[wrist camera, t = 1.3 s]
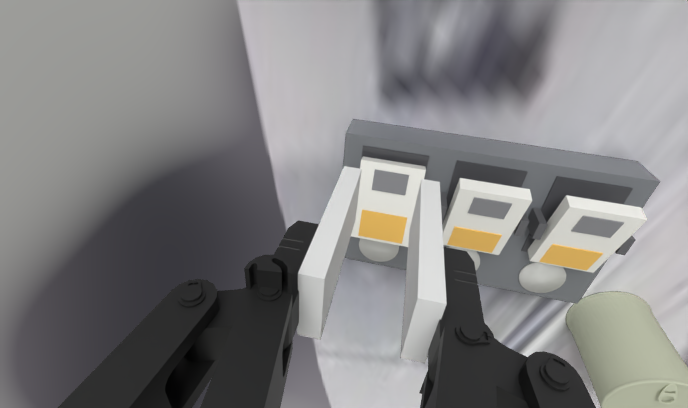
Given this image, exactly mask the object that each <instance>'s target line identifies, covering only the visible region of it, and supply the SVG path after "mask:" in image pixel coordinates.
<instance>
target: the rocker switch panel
mask: <svg viewBox="0 0 688 408" xmlns="http://www.w3.org/2000/svg"><path fill="white" fill-rule="evenodd" d="M363 156H364V157H370V158H376V159H382V160H389V161H395V162H401V163H407V164H413V165H420V166H425V167H426V172H425V177H424V179H425V180H431V181H437V182H440V195H441V213H442V224H443V222H444V219H445V216H446V214H447V211H448V208H449V206H450V203H451V200H452V198H453V195H454V192H455V190H456V187H457V184H458V181H459V179H460V178H464V179H470V180H476V181H482V182H488V183H494V184H500V185H507V186H513V187H519V188H525V189H530V192H531V197H532V202H531V204H530V205H529V207H528V209H527V210H526V212H525V213H524V215H523V217H522V218H521V220H520V222H519V223H518V225H517V226H516V228H515V230H514V231H513V233H512V234H511V236H510V238H509V239H508V241H507V243H506V244H505V246H504V247H503V249H502V251H501V252H500V254H499V255H495V254H489V253H484V252H479V251H473V250H468V249H463V248H457V247H452V246H447V245H443V247H447V248H453V249H458V250H463V251H467V252H468V254H469V255H470V257H471V258H472V260H473V261H474V263H475V270H476V276H477V282H478V284H480V285H485V286H490V287H495V288H500V289H505V290H510V291H516V292H521V293H526V294H531V295H536V296H541V297H546V298H551V299H556V300H561V301H566V302H571V303H576V304H578V302H579V301H580V299H581V298H582V296H583V295H584V293H585V292H586V290H587V289H588V287H589V286H590V284H591V283H592V282H593V280H594V279H595V277H596V276H597V274H598V273H599V271H600V270H601V268H602V267H603V265H604V264H605V262H606V261H607V260H606V261H605V262H604V263H603V264H602V265H601V266H600V267H599V268H598V269H597V270H596V271H595V272H594V273H592V272H586V271H581V270H575V269H570V268H565V267H559V266H554V265H549V264H543V263H538V262H532V261H530V260H529V255H528V249H529V247H530V246H531V244H532V243H533V242H534V240H535V239H537V240H540V239H541V237H542V235H543V233H544V231H545V229H546V227H547V225H548V224H547V222H548V220H549V219H550V217H551V216H552V215H553V213H554V212H555V210H556V209H557V208H558V206H559V205H560V203H561V202H562V200H563V199H564V198H565V196H566V195H568V196H574V197H580V198H586V199H592V200H599V201H605V202H611V203H617V204H623V205H629V206H635V207H641V208H643V206H644V205H645V203H646V202H647V200H648V199H649V197H650V196H651V195H652V193H653V192H654V190H655V189H656V187H657V186H658V184H659V183H660V181H659V180H658V179H657V178H656V177H655V176H654V175H653V174H651V173H650V172H649V171H648V170H647V169H646V168H645V167H644V166H643V165H641V164H640V163H639V162H638V161H632V160H626V159H619V158H612V157H606V156H599V155H592V154H585V153H579V152H572V151H565V150H558V149H552V148H545V147H538V146H532V145H525V144H518V143H511V142H505V141H498V140H491V139H485V138H478V137H471V136H464V135H458V134H451V133H444V132H437V131H431V130H424V129H417V128H411V127H404V126H397V125H390V124H384V123H377V122H370V121H364V120H357V119H353V120H352V122H351V124H350V126H349V128H348V130H347V132H346V138H345V149H344V161H343V168H344V166H347V167H353V168H359V169H360V164H361V159H362V157H363ZM634 241H635V239H634V237H633V236H631V237H629V238H628V239H627V240H626V241H625V242H624V243H623V244H622V245H621V246H620V247H619V248H618V249H617V250H616V251H615V252H616V254H621V255H625V254H626V253H627V251H628V250H629V248H630V247H631V246H632V244H633V243H634ZM407 257H408V247H405V246H399V245H394V244H389V243H383V242H378V241H373V240H368V239H362V238H357V237H352V236H351V237H350V240H349V244H348V247H347V251H346V254H345V257H344V258H348V259H353V260H358V261H363V262H368V263H373V264H378V265H384V266H389V267H394V268H399V269H404V270H407Z"/></svg>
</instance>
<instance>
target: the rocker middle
mask: <svg viewBox="0 0 688 408" xmlns="http://www.w3.org/2000/svg"><path fill="white" fill-rule="evenodd" d="M531 202H532V197H531V192H530V189H525V188H519V187H513V186H507V185H500V184H494V183H488V182H482V181H476V180H470V179H464V178H460V179H459V181H458V184H457V187H456V190H455V192H454V195H453V198H452V200H451V203H450V206H449V208H448V211H447V214H446V216H445V219H444V222H443V224H442V231H443V245H447V246H452V247H457V248H463V249H468V250H473V251H479V252H484V253H489V254H495V255H499V254H500V252H501V251H502V249H503V247H504V246H505V244H506V243H507V241H508V239H509V238H510V236H511V234H512V233H513V231H514V230H515V228H516V226H517V225H518V223H519V222H520V220H521V218H522V217H523V215H524V213H525V212H526V210H527V209H528V207H529V205H530V204H531Z"/></svg>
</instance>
